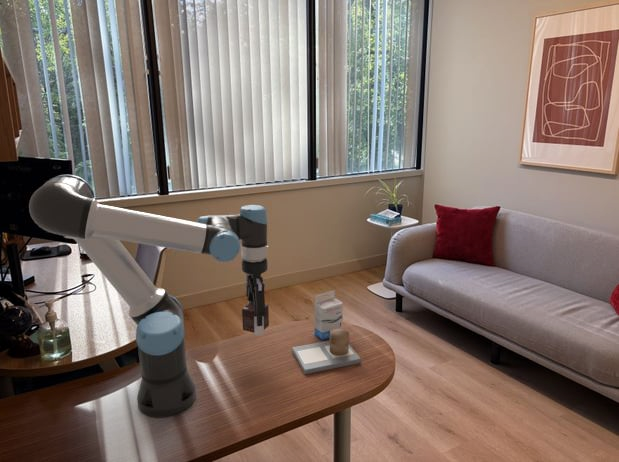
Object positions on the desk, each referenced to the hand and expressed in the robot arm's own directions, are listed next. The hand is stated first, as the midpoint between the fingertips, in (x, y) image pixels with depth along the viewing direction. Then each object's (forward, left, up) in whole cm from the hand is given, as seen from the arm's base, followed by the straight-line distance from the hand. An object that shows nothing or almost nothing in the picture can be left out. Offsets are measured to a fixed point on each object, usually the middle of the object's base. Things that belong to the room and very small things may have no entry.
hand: (255, 327), depth 142 cm
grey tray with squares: (+20, -7, -11) cm, 24 cm away
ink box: (+26, +6, -11) cm, 29 cm away
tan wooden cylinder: (+25, -7, -9) cm, 27 cm away
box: (0, 0, -1) cm, 1 cm away
